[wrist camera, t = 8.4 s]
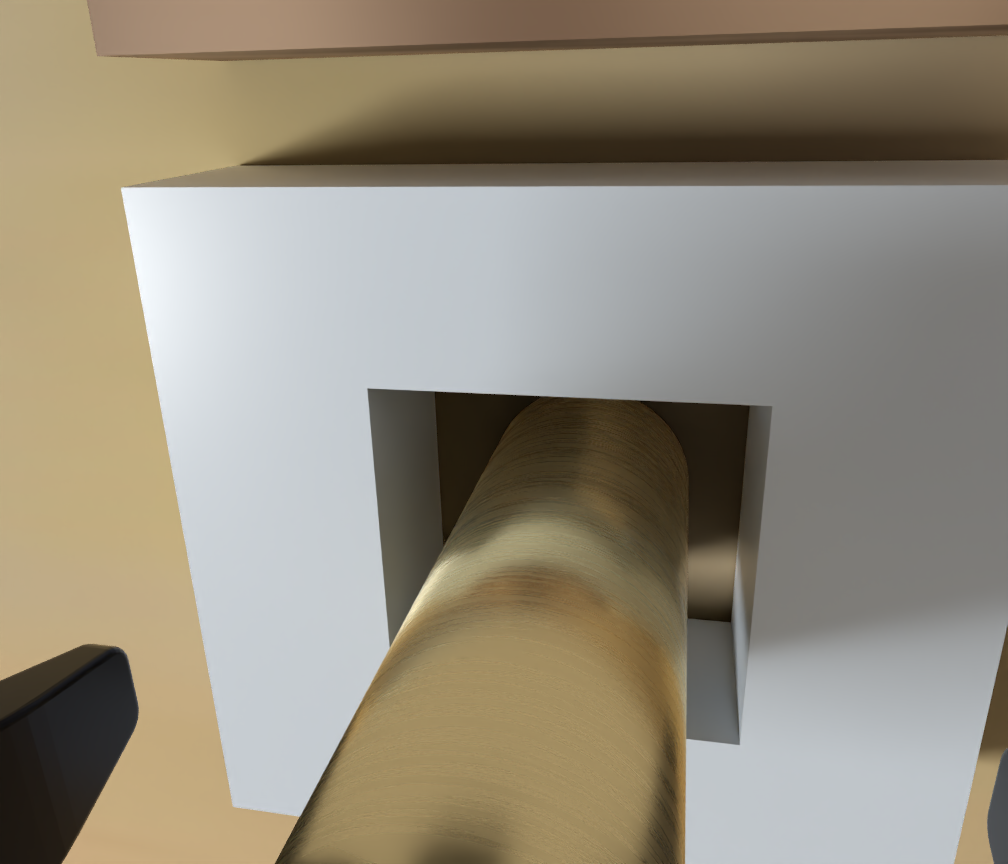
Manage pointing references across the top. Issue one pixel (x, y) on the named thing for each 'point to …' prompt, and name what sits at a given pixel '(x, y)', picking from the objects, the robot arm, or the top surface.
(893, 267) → the socket
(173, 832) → the top surface
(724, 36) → the mount
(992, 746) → the top surface
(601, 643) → the pin
